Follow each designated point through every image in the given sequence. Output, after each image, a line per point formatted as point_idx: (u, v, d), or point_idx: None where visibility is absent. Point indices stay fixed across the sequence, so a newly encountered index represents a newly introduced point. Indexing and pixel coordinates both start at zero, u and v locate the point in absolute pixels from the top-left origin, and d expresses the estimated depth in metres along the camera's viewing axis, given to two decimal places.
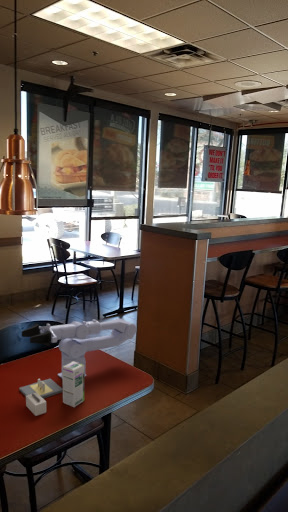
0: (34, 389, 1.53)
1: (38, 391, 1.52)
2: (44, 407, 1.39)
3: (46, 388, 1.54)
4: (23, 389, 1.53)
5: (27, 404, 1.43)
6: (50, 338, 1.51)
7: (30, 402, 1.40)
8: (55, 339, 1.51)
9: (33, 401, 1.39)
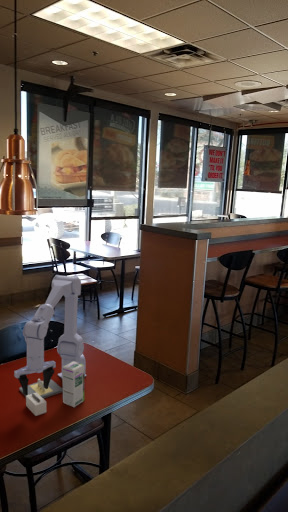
0: (34, 389, 1.53)
1: (38, 391, 1.52)
2: (44, 407, 1.39)
3: None
4: None
5: (27, 404, 1.43)
6: None
7: (30, 402, 1.40)
8: None
9: (33, 401, 1.39)
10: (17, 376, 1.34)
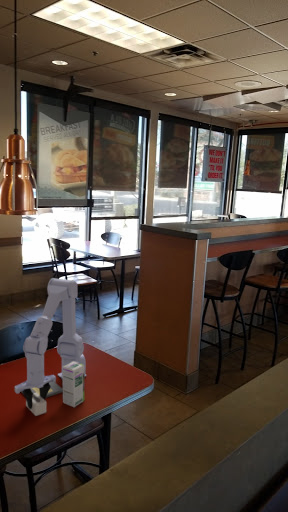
0: (34, 389, 1.53)
1: (38, 391, 1.52)
2: (44, 407, 1.39)
3: None
4: None
5: (27, 404, 1.43)
6: None
7: None
8: None
9: (33, 401, 1.39)
10: (17, 391, 1.35)
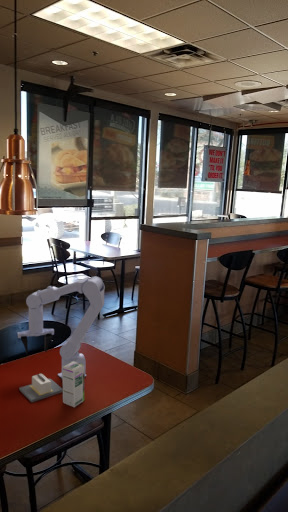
0: (34, 389, 1.53)
1: None
2: (49, 386, 1.51)
3: None
4: (23, 389, 1.53)
5: (33, 384, 1.55)
6: (51, 335, 1.68)
7: (36, 382, 1.52)
8: (53, 331, 1.68)
9: (39, 381, 1.51)
10: (18, 336, 1.62)
